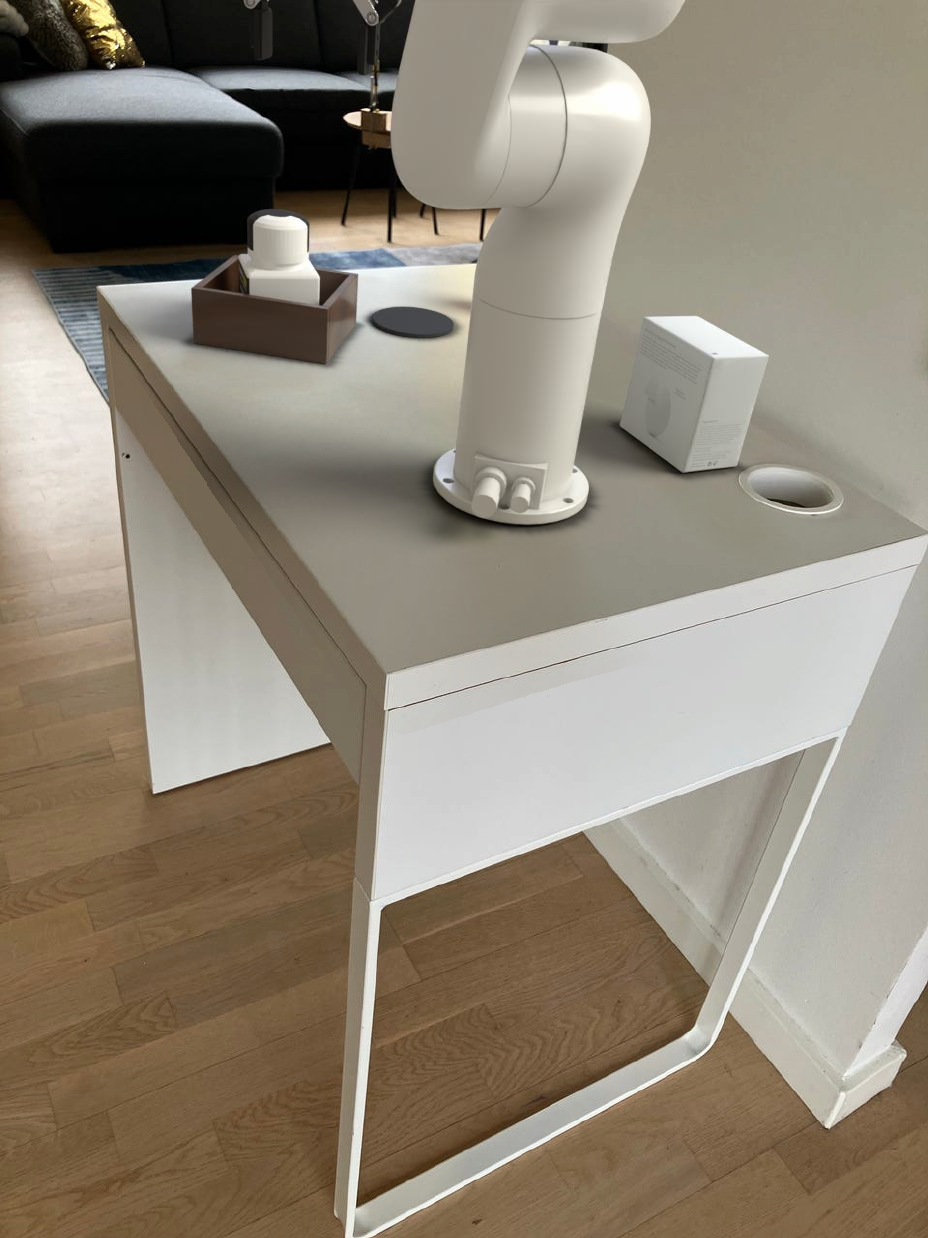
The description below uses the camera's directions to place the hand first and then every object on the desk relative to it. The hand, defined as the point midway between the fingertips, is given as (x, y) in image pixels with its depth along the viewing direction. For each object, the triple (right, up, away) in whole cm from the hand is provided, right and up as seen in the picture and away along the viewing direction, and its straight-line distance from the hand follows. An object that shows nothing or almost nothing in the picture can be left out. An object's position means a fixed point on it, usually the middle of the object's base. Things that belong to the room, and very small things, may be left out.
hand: (313, 65), depth 94 cm
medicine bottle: (-6, -21, +13) cm, 25 cm away
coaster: (+8, -18, +20) cm, 28 cm away
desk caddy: (-6, -21, +13) cm, 25 cm away
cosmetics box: (+33, -35, 0) cm, 48 cm away
